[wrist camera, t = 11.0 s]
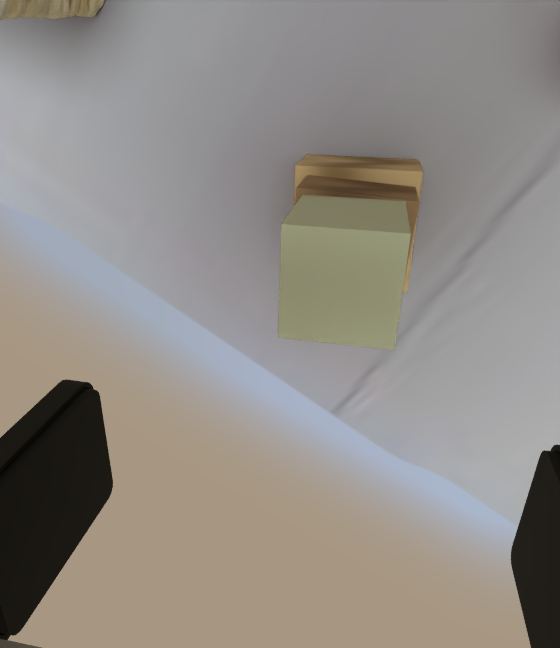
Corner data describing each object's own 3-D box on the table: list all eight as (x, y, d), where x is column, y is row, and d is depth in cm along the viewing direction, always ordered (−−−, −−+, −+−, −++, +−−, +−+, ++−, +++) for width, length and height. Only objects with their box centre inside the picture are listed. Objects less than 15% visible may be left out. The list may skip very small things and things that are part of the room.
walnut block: (415, 186, 29) (419, 201, 25) (396, 288, 31) (397, 315, 28) (307, 174, 29) (296, 187, 26) (297, 274, 32) (286, 299, 28)
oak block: (418, 159, 33) (423, 171, 28) (404, 265, 36) (407, 292, 31) (307, 154, 34) (295, 165, 29) (302, 258, 37) (291, 282, 32)
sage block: (405, 201, 25) (410, 233, 20) (392, 297, 27) (394, 350, 22) (302, 194, 26) (281, 224, 21) (298, 288, 28) (277, 337, 23)
